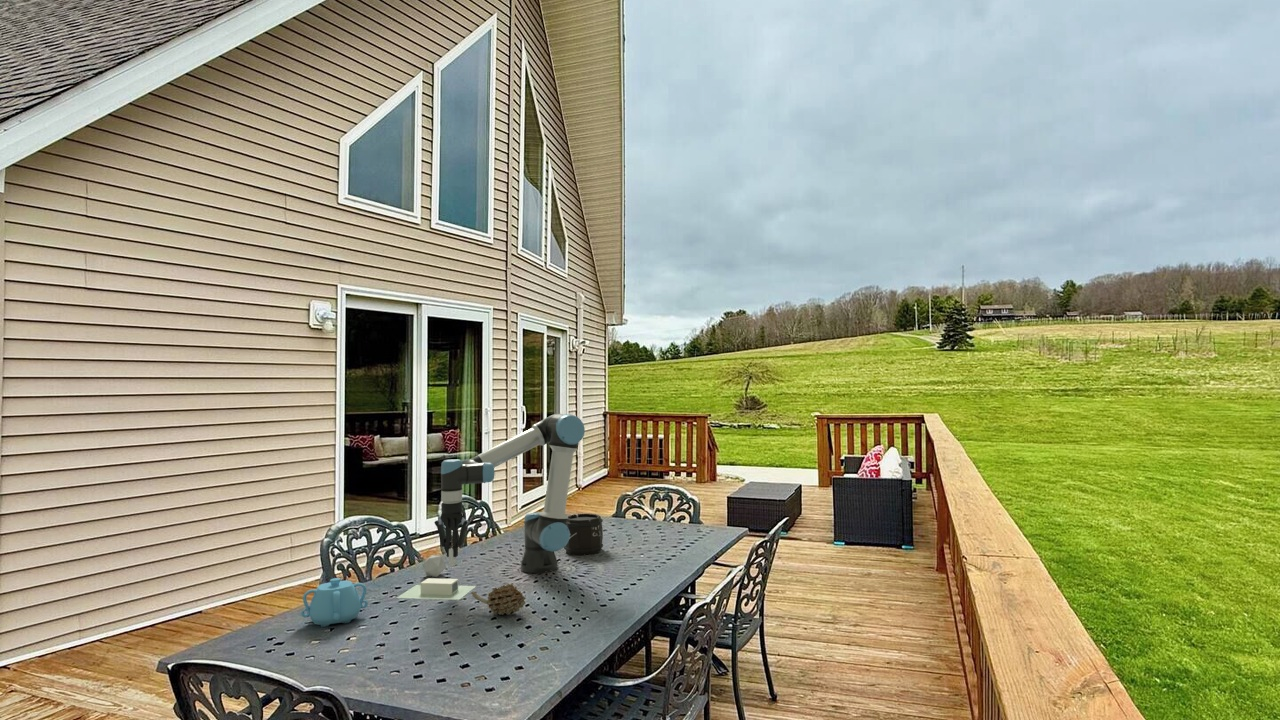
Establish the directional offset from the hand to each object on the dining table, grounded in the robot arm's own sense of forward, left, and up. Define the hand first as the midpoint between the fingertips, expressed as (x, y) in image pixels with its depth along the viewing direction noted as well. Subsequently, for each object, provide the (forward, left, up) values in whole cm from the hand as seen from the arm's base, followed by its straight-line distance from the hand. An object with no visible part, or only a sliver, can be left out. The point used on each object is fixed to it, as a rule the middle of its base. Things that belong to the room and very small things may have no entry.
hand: (452, 565), depth 246 cm
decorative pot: (+27, +31, -10) cm, 42 cm away
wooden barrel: (-35, -63, -10) cm, 73 cm away
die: (+17, -21, -10) cm, 29 cm away
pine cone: (-24, +20, -10) cm, 33 cm away
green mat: (+6, 0, -10) cm, 12 cm away
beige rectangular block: (-1, 0, -8) cm, 8 cm away
